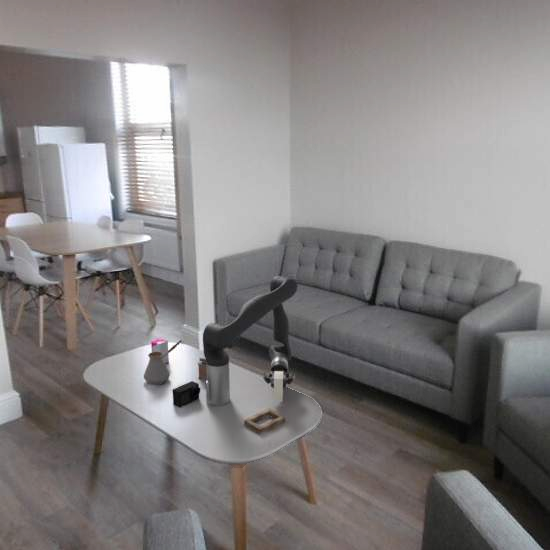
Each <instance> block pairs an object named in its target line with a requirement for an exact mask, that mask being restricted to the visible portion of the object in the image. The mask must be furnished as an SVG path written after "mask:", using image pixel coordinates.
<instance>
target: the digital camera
mask: <svg viewBox="0 0 550 550" xmlns="http://www.w3.org/2000/svg"><path fill="white" fill-rule="evenodd" d="M200 394H201V387H200V385H199V383H197V382H195V381H193V380H192V381H189V382H187V383H185V384H182V385H179V386H178V387H175V388H173V389H172V404H174V405H173V406H175V407H177V408H180V409H181V408H183V407H185V406H187V405H189V404H192V403H194V402H196V401H198V400H200Z"/></svg>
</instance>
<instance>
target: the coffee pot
mask: <svg viewBox="0 0 550 550" xmlns="http://www.w3.org/2000/svg"><path fill="white" fill-rule="evenodd" d="M180 343H181V344H184V341H183V340H181V339H180V340H179V341H178V342H176V343H175V344H174V345H172V346H171V347H170V349H168V352H167V353H166V354H164V355H163V353H162V352H152V351H151V352H150V353H148V357H149V360H148V364H147V366H146V368H145V371H144V374H143V379H144V380H145V382H146V383H148V384H150V385H153V386H154V385H155V386H158V385H162V384H164V383H166V382H167V381H168V379H169V378H170V375H171V373H170V370H169V369H168V367H167V364H165V363H164V361H163V360H162V359H163V358H164V357H165V356H166V355H167V354H168V355H169V354H170V353H172V351H174V349H176V348H177V346H179V345H180Z"/></svg>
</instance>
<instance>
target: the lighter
mask: <svg viewBox="0 0 550 550" xmlns="http://www.w3.org/2000/svg"><path fill="white" fill-rule="evenodd" d="M198 359H199V362H198V363H197V365H198V380H201V381H207V367H206V358H205V357H199V358H198Z"/></svg>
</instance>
